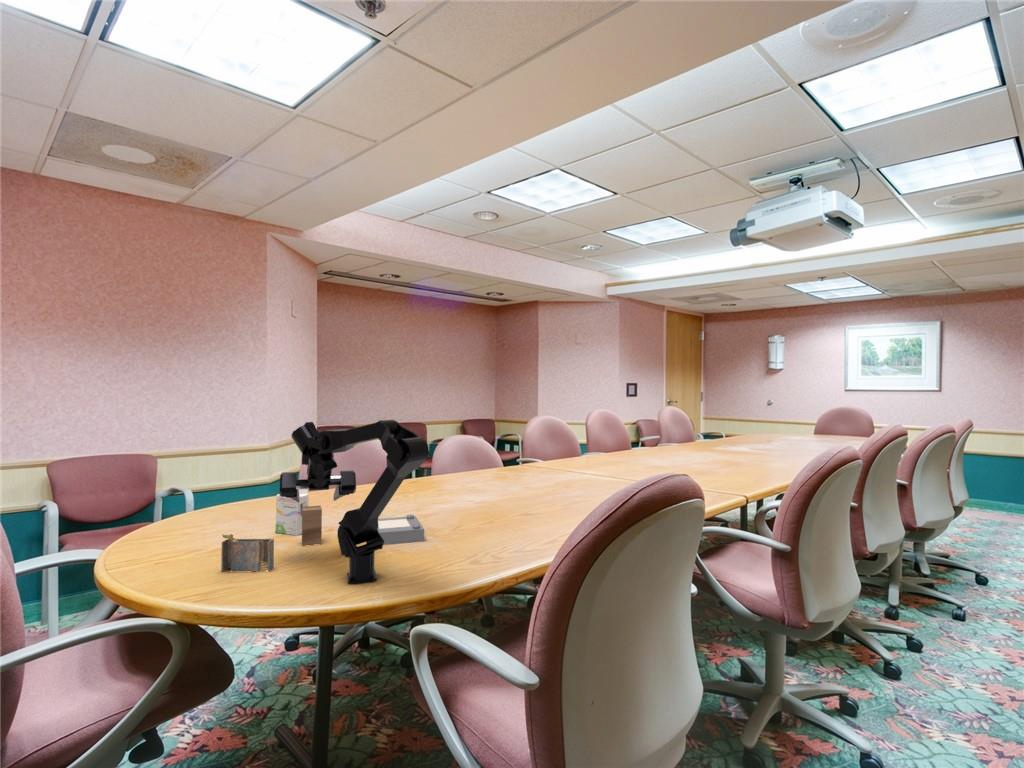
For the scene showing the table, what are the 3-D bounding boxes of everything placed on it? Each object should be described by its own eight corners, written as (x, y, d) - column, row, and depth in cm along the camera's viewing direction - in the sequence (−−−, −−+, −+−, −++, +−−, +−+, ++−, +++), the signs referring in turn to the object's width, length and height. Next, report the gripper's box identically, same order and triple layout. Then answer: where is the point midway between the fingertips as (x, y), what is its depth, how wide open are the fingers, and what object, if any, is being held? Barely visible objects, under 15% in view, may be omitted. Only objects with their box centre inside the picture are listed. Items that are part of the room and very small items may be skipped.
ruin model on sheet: (220, 574, 126) (220, 534, 126) (226, 570, 129) (227, 530, 129) (268, 574, 126) (268, 534, 126) (273, 570, 129) (274, 530, 129)
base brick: (424, 541, 153) (424, 526, 153) (367, 546, 148) (367, 530, 148) (415, 527, 168) (415, 513, 168) (363, 531, 163) (364, 517, 163)
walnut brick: (321, 544, 149) (321, 509, 149) (302, 546, 147) (302, 510, 147) (320, 539, 154) (320, 505, 154) (301, 541, 152) (302, 506, 152)
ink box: (274, 533, 160) (275, 484, 160) (286, 529, 164) (287, 481, 164) (297, 536, 157) (298, 486, 157) (308, 531, 162) (309, 483, 162)
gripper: (356, 441, 142) (350, 474, 152) (281, 442, 135) (280, 476, 145) (359, 476, 135) (352, 508, 145) (279, 478, 128) (278, 512, 138)
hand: (316, 500), depth 143 cm, fingers open, 9 cm apart
